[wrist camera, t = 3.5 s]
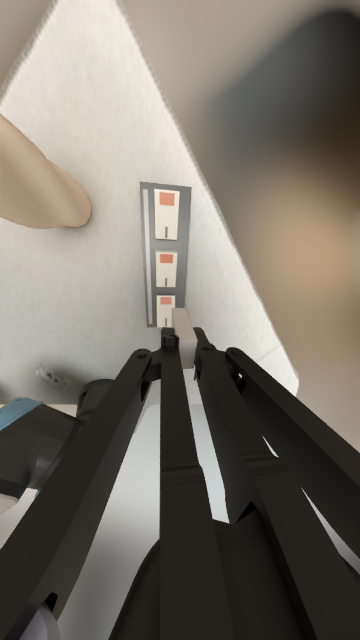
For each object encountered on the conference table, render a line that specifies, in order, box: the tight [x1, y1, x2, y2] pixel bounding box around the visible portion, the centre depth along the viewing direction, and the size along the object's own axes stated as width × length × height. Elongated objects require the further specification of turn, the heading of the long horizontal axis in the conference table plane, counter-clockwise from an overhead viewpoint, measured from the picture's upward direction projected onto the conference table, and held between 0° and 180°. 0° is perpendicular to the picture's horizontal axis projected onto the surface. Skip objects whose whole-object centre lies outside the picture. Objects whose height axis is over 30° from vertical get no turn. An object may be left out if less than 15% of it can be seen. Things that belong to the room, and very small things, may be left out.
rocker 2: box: [156, 250, 177, 287], centre depth 30 cm, size 4×7×2 cm, turn 178°
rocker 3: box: [157, 296, 175, 327], centre depth 34 cm, size 4×7×2 cm, turn 178°
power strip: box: [140, 182, 191, 328], centre depth 35 cm, size 9×37×4 cm, turn 177°
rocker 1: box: [154, 189, 180, 240], centre depth 26 cm, size 4×7×2 cm, turn 178°
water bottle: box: [0, 114, 91, 229], centre depth 16 cm, size 10×9×28 cm
